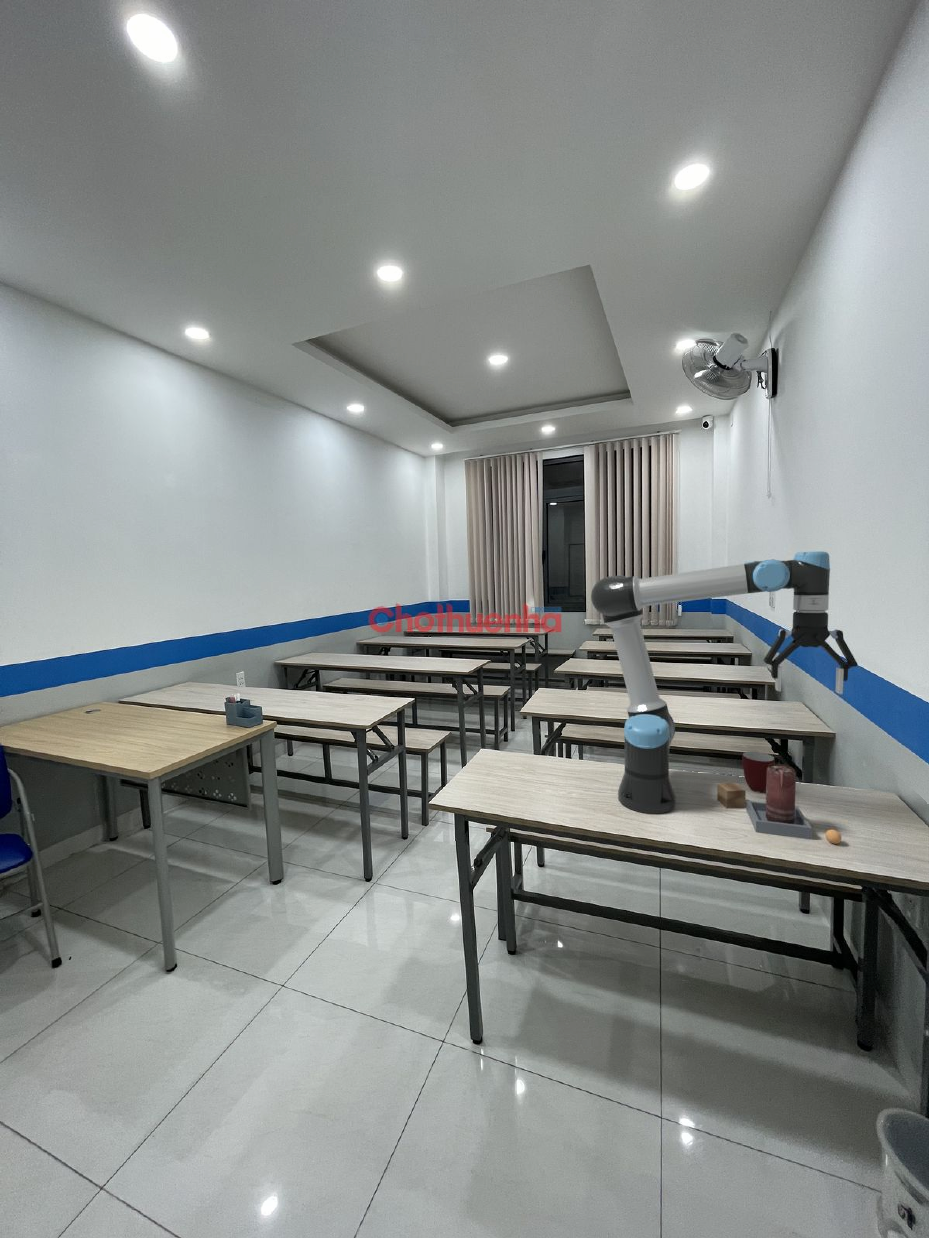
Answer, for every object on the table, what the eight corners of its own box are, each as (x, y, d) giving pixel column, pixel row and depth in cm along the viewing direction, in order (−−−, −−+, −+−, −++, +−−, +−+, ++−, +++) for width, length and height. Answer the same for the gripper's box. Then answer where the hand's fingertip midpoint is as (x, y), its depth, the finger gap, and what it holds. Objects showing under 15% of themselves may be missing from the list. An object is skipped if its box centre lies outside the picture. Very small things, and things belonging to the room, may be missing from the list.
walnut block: (726, 808, 133) (727, 790, 132) (717, 800, 138) (717, 783, 137) (745, 808, 133) (745, 790, 132) (734, 799, 138) (735, 782, 137)
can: (768, 825, 121) (770, 771, 120) (763, 813, 127) (764, 761, 126) (797, 829, 119) (799, 774, 118) (790, 817, 125) (792, 764, 124)
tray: (755, 831, 120) (756, 821, 120) (746, 810, 131) (746, 800, 131) (811, 839, 116) (812, 828, 116) (797, 816, 127) (797, 806, 127)
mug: (780, 786, 145) (781, 754, 144) (786, 798, 137) (787, 763, 136) (739, 782, 149) (740, 750, 148) (744, 793, 141) (744, 759, 140)
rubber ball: (827, 844, 114) (828, 832, 113) (823, 838, 117) (823, 826, 116) (843, 847, 113) (843, 834, 112) (838, 840, 115) (838, 828, 115)
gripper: (758, 612, 128) (757, 692, 130) (875, 612, 119) (872, 697, 121) (752, 610, 135) (751, 686, 137) (862, 610, 126) (859, 690, 128)
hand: (808, 691), depth 129 cm, fingers open, 13 cm apart
